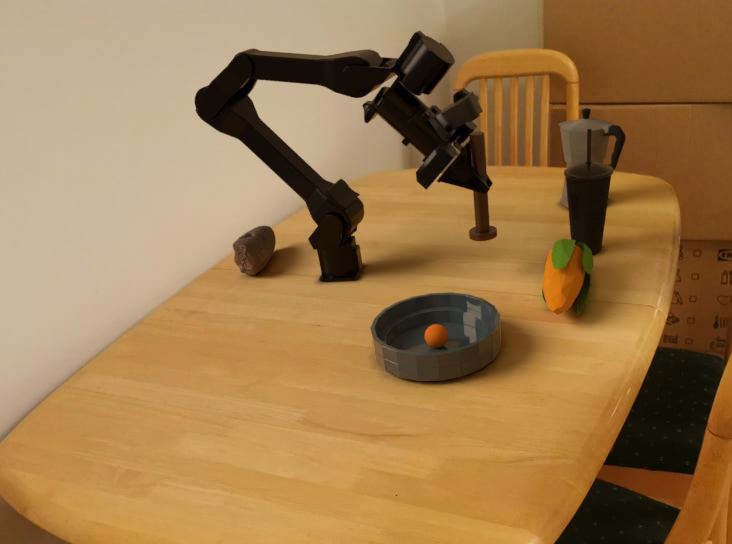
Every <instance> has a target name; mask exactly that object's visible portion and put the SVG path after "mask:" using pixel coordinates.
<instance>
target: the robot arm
mask: <svg viewBox="0 0 732 544" xmlns="http://www.w3.org/2000/svg"><path fill="white" fill-rule="evenodd" d="M455 63H456V59H455V57H454V55H453V54H452V52H451V51H450V50H449V49H448V48H447V47H446V46H445V44H444V43H442V42H438V41H437V40H436V39H434V38H433V37H430V36H428V35H426V34H425V33H423V31H421V30H417V31H415V32H414V33H413V34H412V36H411V37H410V38H409V41H408V43H407V45H406V47H405V48H404V50H403V51H402V52H401V54H400V55H399V56H398V57H387V56H386V57H385V56H381V55H380V54H379V52H378V51H376V50H373V49H370V48H369V49H367V48H365V49H359V50H351V51H346V52H345V51H344V52H340V53H334V54H328V55H322V54H309V53H294V52H282V51H271V50H269V51H268V50H260V49H257V48H248V49H245V50H242V51H239V52H238V53H236V54H234V56H233V57H232V59H231V61H230V62H229V63H228V64H227V65H226V66H225V67H224V68H223V70H221V72H219V73H218V74H217V75H216V76H215V77H214V78H213V79H212V80H211V81H210V82H209V84H208V85H205V86H203V87H201V88H199V89H198V90H197V91H196V93H195V95H194V106H195V110H194V111H195V113H196V115H197V116H198V117H199V119H200V120H201V121H203V122H204V123H205V124H206V125H208V126H210V127H211V128H213V129H214V130H215V131H217V132H219V133H220V134H223V135H226V136H228V137H231V138H233V139H237V140H238V141H240V143H242V144H243V145H244V146H245V147H246V148H247V149H248V150H249V151H250V152H251V153H253V154H254V155H255V156H256V157H257V158H258V159H259V160H260V161H261V162H262V163H263V164H264V165H265V166H266V167H267V168H269V169H270V170H271V171H272V172H273V173H274V174H275V175H276V176H277V177H278V178H279V179H280V180H282V181H283V182H284V183H285V184H286V185H287V186H288V187H289V188H290V189H291V190H292V191H293V192H295V193H296V195H297V196H299V198H300V199H302V200H303V202H304V203H305V205H306V208H307V210H308V212H309V215H310V217H311V219H312V220H313V222H314V223H315V224H316V226H317V227H316V228H315V229H314V230H313V231H312V232H311V234H310V236H309V237H308V242H309V244H310V246H311V248H312V250H314V251H316V253H317V256H318V263H319V266H320V268H319V269H320V273H321V274H320V276H319V278H318V281H319V282H337V281H355V280H356V279H357V277H358V276H359V273H360V272H361V270H362V269H363V266H364V264H363V259H362V252H361V247H360V244H358V243H357V239H356V236H355V235H354V233H356V232H357V230H358V226H359V225H360V223H361V222H362V221H363V219H364V216H365V205H364V203H363V201H362V200H361V199H360V195H361V194H360V193H359V192H356V191H355V190H354V189H352V188H351V187H350V186H349V184H348V182H346V181H345V180H344V179H342V178H339V179H338V180H337V181H335V183H334V182H332V181H329V180H326V179H325V178H323V176H321V175H320V174H319V173H318V172H317V170H315V169H314V168H313V167H312V166H311V165H310V164H309V163H308V162H306V160H305V159H303V158H302V157H301V155H299V154H298V153H297V152H296V151H295V150H294V149H293V148H292V147H290V145H288V143H287V142H285V141H284V140H283V139H282V138H281V137H280V136H279V135H278V134H277V133H276V132H275V131H274V130H273V129H271V127H270V126H269V125H267V123H266V122H264V121H263V120H262V119H261V118H260V116H259V114H258V110H257V109H256V106H255V103H254V101H253V99H251V97H250V96H249V95H250V94H251V92H252V91H253V90H254V88H255V87H256V85H257V83H258V81H267V82H280V83H290V84H291V83H292V84H302V85H312V86H313V85H314V86H319V87H323V88H326V89H327V90H330V91H332V92H333V93H336V94H339V95H342V96H346V97H350V98H352V99H353V98H354V99H362V98H364V97H367V96H368V95H369V94H371V93H372V92H374V91H376V90H377V89H379V88H380V87H381V86H382V85H383V84H384V83H386V82H388V80H390V79H392V78H394V77H395V76H396V78H395V80H394V81H393V82H392V83H391V85H390V86H382V87H381V88H380V89H379V91H378V92H377V94H376V95H375V96H374V98H373V99H372V100H366V101H365V102H363V104H362V105H361V107H362V108H363V122H364V123H365V124H369V123H370V122H372V120H374V119H375V118H376V117H377V116H378V117H379V118H380V119H382V120H383V121H384V122H385V123H386V124H387V125H388V126H389V127H390V128H392V129H393V130H394V131H395V132H396V133H397V134H399V135H400V137H402V138H403V139H402V141H401V144H402V145H403V146H405V147H408V146H409V145H410V146H411V147H413V148H414V149H415V150H416V151H417V152H419V153H420V154H421V155H422V156H423V157H424V158H423V159H422V160H421V161H422V164H421V165H420V166H419V168H418V169H417V170H416V171H415V177H416V183H417V184H419V185H420V186H421V187H422V188H423V189H424V190H429V188H430V186H431V185H432V184H433V183H434V182H435V181H436V182H437V183H438V184H439V183H444V184H448V185H450V186H451V185H452V186H456V187H459V188H462V189H466V190H469V191H472V192H473V191H476V192H479V193H482V194H486V193H487V192H488V193H489V192H490V190H491V187H492V186H493V185H494V184H493V181H492V180H491V178H490V176H489V175H488V174H487V184H486V183H485V181H484V180H483V179H482V178H481V177H480V175H479V174H478V173H477V172H476V171H475V169H474V168H473V167H472V166H471V153H470V139H469V140H468V141H466V140H467V139H468V138H469V134H470V133H472V132H475V131H476V129H477V128H478V125H477V124H476V123H475V122H474V121H475V120H477V119H478V118H479V117H480V116H481V115H480V114H482V113H483V112H484V111H483V109H482V106H481V104H480V102H479V100H480V98H479V97H480V96H479V95H477V94H475V93H474V91H469V90H467V89H465V88H461V89H459V90H458V91H456V92H455V93H454V94H453V95H452V102H451V103H450V104H448V105H447V106H446V107H444V108H443V109H441V108H439V107H438V106H437V105H433V104H431V106H428V105H427V104H426V103H424V102H423V100H422V99H421V98H419V97H420V96H422V94H423V95H427V96H429V95H431V94H432V93H433V92H434V90H435V89H436V88H437V87H438V85H439V84H440V83H441V81H442V80H443V79H444V77H445V76H446V75H447V74H448V72H449V71H450V70H451V68H452V67H453V66H454V64H455ZM418 96H419V97H418Z"/></svg>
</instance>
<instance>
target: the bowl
mask: <svg viewBox="0 0 732 544" xmlns="http://www.w3.org/2000/svg"><path fill="white" fill-rule="evenodd" d="M434 324H439V325H442V326H443V327H444V328H445V329H446V330H447V332H448V340H447V342H446V344H445V345H443V346H442V347H439V348H433V347H431V346H429V345H428V344H427V343H426V341H425V331H426V330H427V328H428V327H429V326H431V325H434ZM369 328H370V335H371V341H372V346H373V354H374V358H375V362H376V363H377V364H378V365H379V366H380V367H381V368H382V369H383V371H385V372H387V373H389V374H391V375H393V376H395V377H398V378H401V379H405V380H413V381H418V382H427V381H428V382H430V381H431V382H432V381H435V382H436V381H439V382H440V381H445V380H452V379H456V378H462V377H464V376H467V375H469V374H472V373H474V372H477V371H480V370H481V369H483V368H484V367H485V366H487V365H489V364H490V363H491V362H493V361H494V360H495V358H496V357H497V355H498V354H499V352H501V349H502V328H501V314H500V312H499V311H498V309H497V308H496V306H495V304H493V303H491V302H489V301H488V300H486V299H485V298H482V297H480V296H475V295H472V294H469V293H462V292H461V293H460V292H451V291H450V292H431V293H425V294H419V295H415V296H411V297H407V298H405V299H402V300H399V301H397V302H396V301H395V303H393V304H391V305H389V306H387V307H386V308H384V309H383V310H382V311H380V312H379V313H378V314H377V315H376V316H375V317H374V318H373V321H372V323H371V326H370V327H369Z"/></svg>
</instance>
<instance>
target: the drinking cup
mask: <svg viewBox="0 0 732 544" xmlns="http://www.w3.org/2000/svg"><path fill="white" fill-rule="evenodd" d="M591 135H592V129H587V160H586V161H585V162H580V163H577V164H575V165H573V166H571V167H568V168H567V167H566V168H565V169H564V170H563V176H564V178H565V177H566V186H567V198H568V208H567V209H568V220H569V231H570V233H569V234H570V239H571V240H576V241H575V245H576V244H577V243H578V242H583V243H584V244H585V245H586V246H587V247H588V248H589V249H590V250H591V252H592V256H593V255H597V254H600V253H601V251H602V247H603V239H604V231H605V225H606V218H607V209H608V203H609V200H608V197H609V196H610V187H611V179H612V175H614V170H613V168H612V167H611V166H609V165H610V164H605V163H604V162H603V163H601V162H596V161H591Z"/></svg>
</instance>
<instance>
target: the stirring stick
mask: <svg viewBox="0 0 732 544" xmlns="http://www.w3.org/2000/svg"><path fill="white" fill-rule="evenodd" d="M468 138H469V140H470V153H471V166H472V167H473V168H474V169H475V171H476V172H477V173H478V174H479V175H480V177H481V178H482V179H483V180H484V181H485V183H486V184H487V175H488V172H487V157H486V156H487V155H486V139H485V138H486V137H485V131H480V130H479V131H473V132H472V133H470V134H469V137H468ZM472 195H473V209H474V210H473V211H474V223H475V224H474V225H475V226H473V227H471V228H470V229H469V230H468V237H469V239H470V240H472V241H475V242H488V241H491V240H493V239H496V238H497V237H498V228H497V226H494V225H490V209H489V208H490V207H489V191H488V192H487V193H486V194H482V193H479V192H476V191H472Z"/></svg>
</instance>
